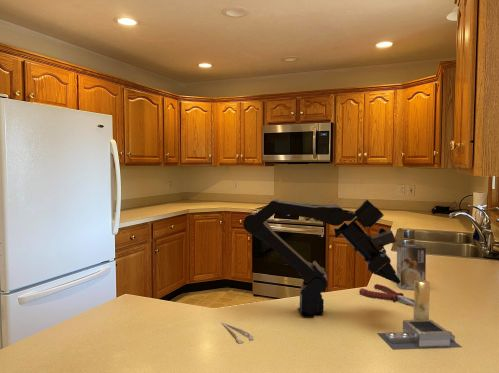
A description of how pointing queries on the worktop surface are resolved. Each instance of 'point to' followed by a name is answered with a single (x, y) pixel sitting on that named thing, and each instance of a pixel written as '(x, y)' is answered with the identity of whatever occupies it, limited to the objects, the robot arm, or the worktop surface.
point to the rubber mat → (411, 344)
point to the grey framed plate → (422, 334)
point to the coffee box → (410, 265)
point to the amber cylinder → (421, 299)
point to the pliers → (386, 295)
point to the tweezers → (237, 331)
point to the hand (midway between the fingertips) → (397, 278)
